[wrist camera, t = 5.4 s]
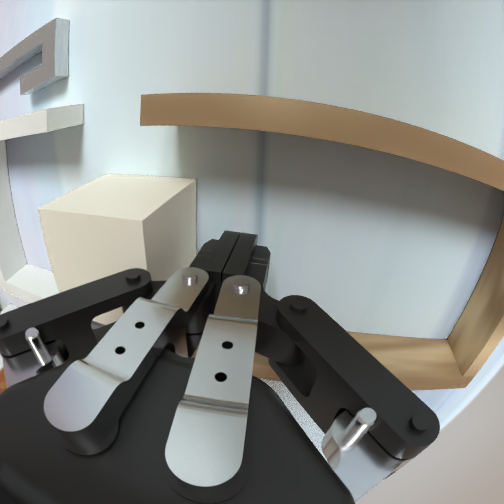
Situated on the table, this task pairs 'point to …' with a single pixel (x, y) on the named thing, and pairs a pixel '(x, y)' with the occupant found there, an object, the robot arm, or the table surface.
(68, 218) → the cream cube
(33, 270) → the cream bay
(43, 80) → the crook tool
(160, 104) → the wooden u-shaped frame
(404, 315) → the table surface
